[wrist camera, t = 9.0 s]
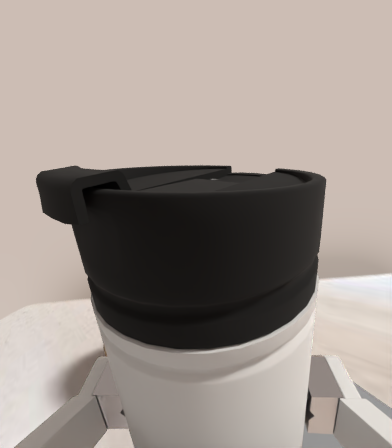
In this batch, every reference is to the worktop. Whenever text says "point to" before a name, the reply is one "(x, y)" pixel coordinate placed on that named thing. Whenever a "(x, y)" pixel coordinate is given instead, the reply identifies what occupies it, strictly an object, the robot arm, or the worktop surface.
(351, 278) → the worktop surface
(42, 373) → the worktop surface
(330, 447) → the mat
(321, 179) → the travel mug
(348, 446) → the robot arm
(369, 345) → the worktop surface
